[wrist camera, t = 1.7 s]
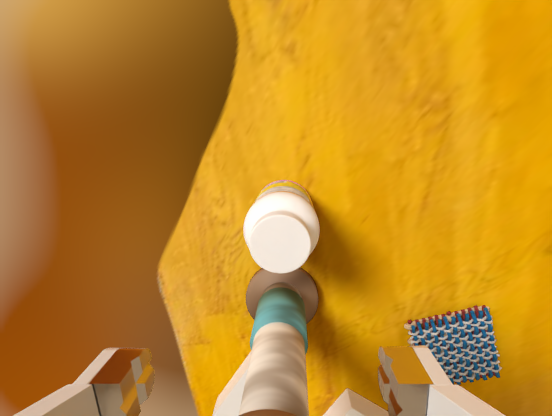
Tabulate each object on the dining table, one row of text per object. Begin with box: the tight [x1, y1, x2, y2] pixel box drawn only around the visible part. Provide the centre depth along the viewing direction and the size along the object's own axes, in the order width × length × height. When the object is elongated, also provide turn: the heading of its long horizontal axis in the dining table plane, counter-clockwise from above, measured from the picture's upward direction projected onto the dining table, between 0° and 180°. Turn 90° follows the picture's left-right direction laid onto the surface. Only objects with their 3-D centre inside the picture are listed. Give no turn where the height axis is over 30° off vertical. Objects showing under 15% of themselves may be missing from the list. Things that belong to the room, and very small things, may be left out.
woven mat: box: [404, 305, 502, 385], centre depth 36 cm, size 10×11×2 cm
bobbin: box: [239, 267, 318, 416], centre depth 26 cm, size 9×9×20 cm
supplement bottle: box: [244, 180, 320, 273], centre depth 27 cm, size 7×7×13 cm
